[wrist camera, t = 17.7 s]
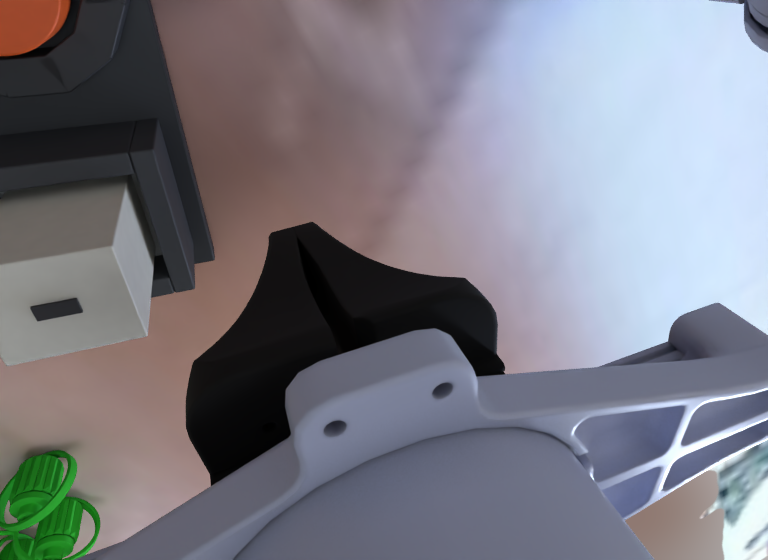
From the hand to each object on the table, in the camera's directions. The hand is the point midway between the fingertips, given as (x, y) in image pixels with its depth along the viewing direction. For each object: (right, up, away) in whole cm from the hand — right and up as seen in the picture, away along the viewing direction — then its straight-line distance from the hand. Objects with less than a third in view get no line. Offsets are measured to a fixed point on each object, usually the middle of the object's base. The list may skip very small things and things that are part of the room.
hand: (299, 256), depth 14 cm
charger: (-9, +2, +5) cm, 10 cm away
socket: (-10, +3, +7) cm, 13 cm away
